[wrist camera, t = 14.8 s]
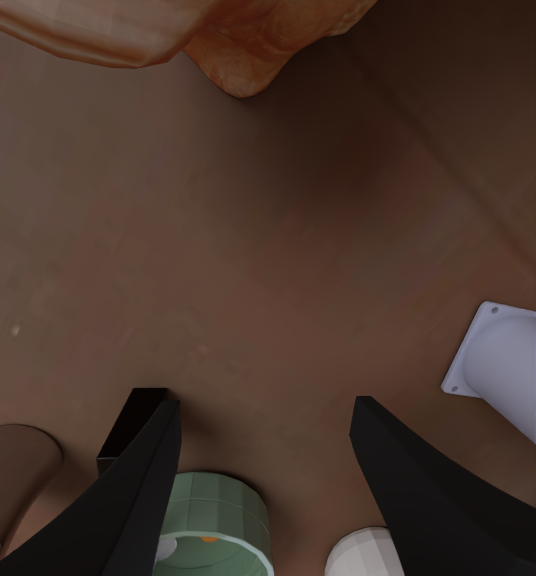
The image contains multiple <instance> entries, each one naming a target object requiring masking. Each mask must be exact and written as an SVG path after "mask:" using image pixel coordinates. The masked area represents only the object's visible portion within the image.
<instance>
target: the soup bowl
mask: <svg viewBox="0 0 536 576" xmlns="http://www.w3.org/2000/svg"><path fill="white" fill-rule="evenodd" d="M177 537H178V543H177V548H176V550H175V551H174V553H173V554H172V555H171V556H169V557H168V558H166V559H163V560H160V561H156V565H155V570H154V574H153V576H274V568H273V558H272V548H271V538H270V529H269V519H268V510H267V507H266V506H265V504H264V503H263V501H262V499H261V498H260V496H259V495H258V493H257V492H255V491H254V490H252V489H251V488H250V487H248V486H247V485H246V484H244V483H243V482H241V481H239V480H236V479H233V478H231V477H228V476H225V475H222V474H217V473H211V472H186V473H180V474H176V476H175V480H174V484H173V487H172V491H171V495H170V499H169V503H168V506H167V510H166V514H165V518H164V522H163V525H162V529H161V533H160V537H159V541H160V540H166V539H172V538H177ZM200 537H216V538H219V539H218V540H217V541H215V542H211V543H208V542H205V541H203V540H202V539H201V538H200Z"/></svg>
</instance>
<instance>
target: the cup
mask: <svg viewBox="0 0 536 576" xmlns="http://www.w3.org/2000/svg"><path fill="white" fill-rule="evenodd" d="M325 576H405V575H404V572H403V569H402V566H401V563H400V560H399V558H398V555H397V552H396V549H395V546H394V544H393V541H392V538H391V535H390V532H389V530H388V529H386V528H383V527H367V528H364V529H361V530H357V531H354V532H352V533H350V534H349V535H347V536H345V537H344V538H342V539H341V540H340V541H339V542H338V543H337V544H336V545H335V546H334V547H333V549H332V551H331V552H330V554H329V556H328V560H327V563H326V567H325Z"/></svg>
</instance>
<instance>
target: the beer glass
mask: <svg viewBox="0 0 536 576" xmlns="http://www.w3.org/2000/svg"><path fill="white" fill-rule="evenodd" d="M62 463H63V457H62V452H61V450H60V448H59V446H58V445H57V443H56V442H55V441H54V440H53V439H52V438H51V437H50V436H48V435H47V434H45V433H44V432H42V431H40V430H38V429H35V428H32V427H28V426H24V425H2V426H0V561H1V560H2V559H3V558H4V557H5V555H6V553H7V550H8V548H9V546H10V544H11V542H12V540H13V537H14V535H15V533H16V531H17V529H18V527H19V525H20V524H21V522H22V520H23V518H24V516H25V515H26V513H27V512H28V510H29V509H30V507H31V506H32V504H33V503H34V502H35V500H36V499H37V498H38V497H39V495H40V494H41V493H42V492H43V491H44V490H45V488H46V487H47V486H48V485H49V484H50V483H51V482H52V480H53V479H54V478H55V477H56V476H57V474H58V473H59V471H60V469H61V466H62Z"/></svg>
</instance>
